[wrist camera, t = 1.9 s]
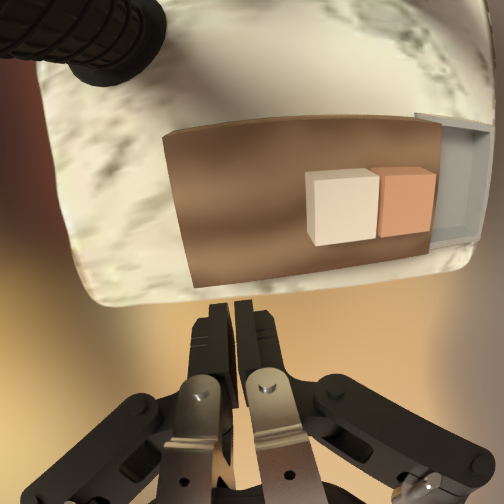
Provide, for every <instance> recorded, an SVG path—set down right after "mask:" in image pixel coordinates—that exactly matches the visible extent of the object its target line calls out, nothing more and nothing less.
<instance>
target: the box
mask: <svg viewBox="0 0 504 504" xmlns="http://www.w3.org/2000/svg"><path fill="white" fill-rule="evenodd" d="M415 118H418V119H423V120H428V121H433V122H437V123H442V137H441V160H440V173H439V185H438V194H437V202H436V210H435V217H434V224H433V230H432V236H431V242H430V247H429V249H435V248H441V247H446V246H452V245H458V244H463V243H469V242H474V241H479V240H480V236H481V232H482V227H483V222H484V217H485V212H486V206H487V201H488V194H489V188H490V180H491V172H492V161H493V150H494V131H495V126H492V125H489V124H485V123H481V122H477V121H472V120H466V119H460V118H454V117H447V116H439V115H431V114H422V113H415Z"/></svg>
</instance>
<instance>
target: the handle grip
mask: <svg viewBox="0 0 504 504" xmlns="http://www.w3.org/2000/svg"><path fill="white" fill-rule="evenodd" d="M165 32H166V20H165V14H164V12H163V10H162V8H161V5H160V4H159V3H158V2H157V1H156V0H0V58H1V59H12V58H14V57H15V58H17V59H21V60H25V61H27V60H33V61H42V60H44V61H47V62H52V63H60V64H65V63H66V64H68V65H69V67H70V69H71V71H72V72H73V74H74V75H75V76H76V77H77V78H78V79H80V80H81V81H82V82H84V83H87V84H89V85H91V86H99V87H106V86H114V85H117V84H120V83H122V82H125V81H127V80H129V79H131V78H133V77H134V76H136V75H137V74H139V73H141V72H142V71H143V70H144V69H145V68H146V67H147V66H148V65H149V64H150V63H151V62H152V60H153V59H154V58H155V56H156V55H157V53H158V52H159V50H160V48H161V45H162V43H163V41H164V38H165Z"/></svg>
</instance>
